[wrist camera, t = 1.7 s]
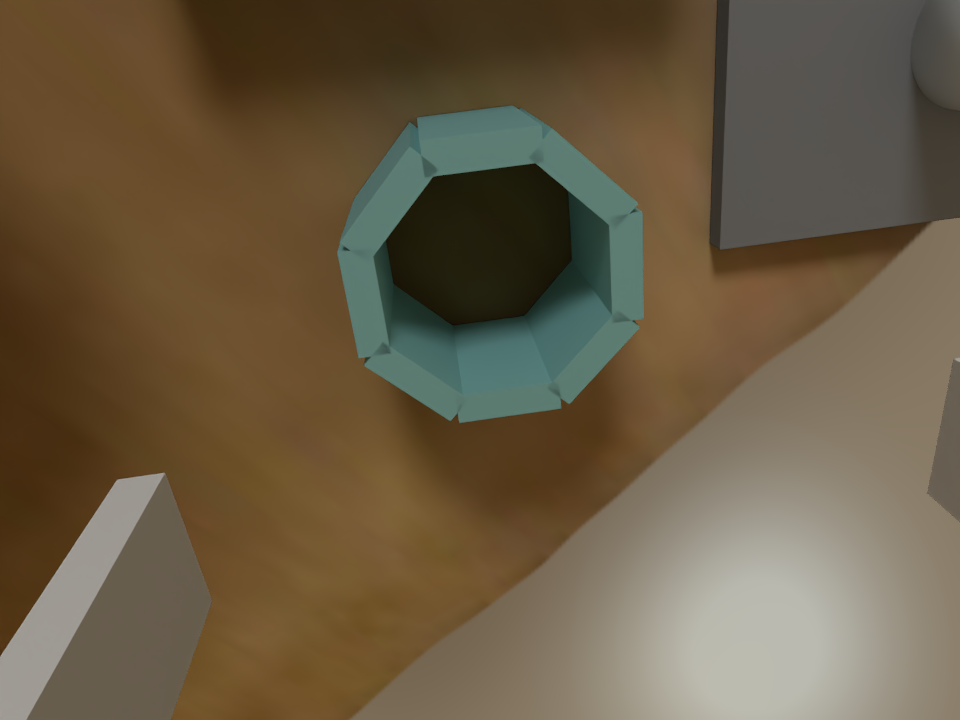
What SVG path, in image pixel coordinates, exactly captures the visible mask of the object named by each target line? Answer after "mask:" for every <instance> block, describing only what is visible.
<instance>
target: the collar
mask: <svg viewBox="0 0 960 720" xmlns="http://www.w3.org/2000/svg"><path fill="white" fill-rule="evenodd" d="M417 123H418V128H417V127H415V126H414V125H413V124H412V123H410V122H409V123H408V125H407V126H406V127H405V129H404V130H403V132H402V133H401V134H400V136H399V137H398V139H397V140H396V141H395V143H394V144H393V146H392V147H391V148H390V150H389V151H388V152H387V154H386V155H385V157H384V158H383V159H382V161H381V162H380V164H379V165H378V166H377V168H376V169H375V171H374V172H373V173H372V175H371V176H370V177H369V179H368V180H367V182H366V183H365V184H364V186H363V187H362V189H361V190H360V191H359V193H358V194H357V196H356V197H355V198H354V201H353V204H352V207H351V210H350V213H349V216H348V219H347V222H346V225H345V228H344V231H343V234H342V237H341V240H340V246H339V249H338V252H337V254H338V259H339V264H340V268H341V273H342V278H343V283H344V288H345V293H346V298H347V303H348V308H349V313H350V318H351V322H352V327H353V332H354V337H355V342H356V347H357V352H358V357H359V358H364V357H365V363H364V366H365V367H367V368H368V369H370V370H371V371H373V372H375V373H376V374H378V375H379V376H381V377H382V378H384V379H385V380H387V381H389V382H390V383H392V384H393V385H395V386H396V387H398V388H400V389H401V390H403V391H404V392H406V393H407V394H409V395H410V396H412V397H414V398H415V399H417V400H418V401H420V402H421V403H423V404H424V405H426V406H428V407H429V408H431V409H432V410H434V411H435V412H437V413H438V414H440V415H442V416H443V417H445V418H446V419H448V420H449V421H451V420H452V419H453V418H454V416H455V415H456V414H457V413H458V418H459V423H463V422H470V421H477V420H484V419H491V418H498V417H505V416H512V415H519V414H526V413H533V412H540V411H547V410H554V409H561V399H563V400H564V401H565V402H567V403H568V404H570V403H571V402H572V401H573V400H574V399H575V398H576V397H577V395H578V394H579V393H580V392H581V391H582V390H583V389H584V388H585V387H586V386H587V385H588V383H589V382H590V381H591V380H592V379H593V378H594V377H595V376H596V375H597V374H598V373H599V372H600V370H601V369H602V368H603V367H604V366H605V365H606V364H607V363H608V362H609V361H610V360H611V359H612V357H613V356H614V355H615V354H616V353H617V352H618V351H619V350H620V349H621V348H622V347H623V345H624V344H625V343H626V342H627V341H628V340H629V339H630V338H631V337H632V336H633V335H634V334H635V332H636V331H637V330H638V329H639V328H640V327H639V326H638V324H637V323H636V322H635V321H634V320H639V319H644V313H643V216H642V212H641V211H640V210H639V209H638V208H636V206H637V204H638V203H637V202H636V201H635V200H634V199H633V198H632V197H631V196H629V195H628V194H627V193H626V192H625V191H624V190H623V189H621V188H620V187H619V186H618V185H617V184H616V183H614V182H613V181H612V180H611V179H610V178H609V177H608V176H606V175H605V174H604V173H603V172H602V171H601V170H599V169H598V168H597V167H596V166H595V165H594V164H593V163H591V162H590V161H589V160H588V159H587V158H586V157H585V156H583V155H582V154H581V153H580V152H579V151H578V150H576V149H575V148H574V147H573V146H572V145H571V144H570V143H568V142H567V141H566V140H565V139H564V138H563V137H561V136H560V135H559V134H558V133H557V132H556V131H555V130H553V129H552V128H551V127H549V126H548V125H546V124H545V123H543V122H542V121H540V120H539V119H537V118H536V117H534V116H533V115H531V114H530V113H528V112H526V111H525V110H523V109H522V108H520V109H517V108H516V107H514V106H513V105H511V106H503V107H495V108H487V109H479V110H471V111H463V112H455V113H447V114H440V115H432V116H424V117H417ZM533 163H536V164H537V165H538V166H539V167H541V168H542V169H543V170H544V171H545V172H547V173H548V174H549V175H550V176H551V177H552V178H554V179H555V180H556V181H557V182H558V183H560V184H561V185H562V186H563V187H564V188H566V189H567V190H568V199H569V217H570V235H571V253H572V261H571V262H570V263H569V264H568V265H567V266H566V268H565V269H564V270H563V271H562V272H561V273H560V275H559V276H558V277H557V278H556V279H555V280H554V282H553V283H552V284H551V285H550V286H549V287H548V289H547V290H546V291H545V292H544V293H543V294H542V296H541V297H540V298H539V299H538V300H537V301H536V303H535V304H534V305H533V306H532V307H531V308H530V310H529V311H528V312H527V313H526V314H525V316H519V317H512V318H504V319H497V320H490V321H483V322H475V323H468V324H461V325H451V324H450V323H448V322H447V321H445V320H444V319H443V318H441V317H440V316H438V315H437V314H435V313H434V312H433V311H431V310H430V309H428V308H427V307H425V306H424V305H423V304H421V303H420V302H418V301H417V300H415V299H414V298H413V297H411V296H410V295H408V294H407V293H405V292H404V291H403V290H401V289H400V288H398V287H397V286H395V285H394V284H393V278H392V273H391V267H390V261H389V255H388V249H387V244H386V239H387V237H388V236H389V235H390V233H391V232H392V231H393V229H394V228H395V227H396V225H397V224H398V223H399V221H400V220H401V219H402V217H403V216H404V215H405V213H406V212H407V211H408V209H409V208H410V207H411V205H412V204H413V203H414V201H415V200H416V199H417V197H418V196H419V195H420V194H421V192H422V191H423V190H424V188H425V187H426V186H427V184H428V183H429V182H430V180H431V179H432V178H433V176H441V175H448V174H456V173H464V172H472V171H479V170H487V169H495V168H502V167H510V166H518V165H526V164H533Z"/></svg>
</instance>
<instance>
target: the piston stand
mask: <svg viewBox="0 0 960 720" xmlns="http://www.w3.org/2000/svg"><path fill="white" fill-rule="evenodd" d="M959 217H960V0H717V31H716V62H715V94H714V125H713V156H712V188H711V219H710V243H711V244H712V245H714V246H715V247H717V248H718V249H719V250H722V249H730V248H737V247H745V246H752V245H759V244H767V243H774V242H782V241H789V240H796V239H804V238H811V237H819V236H826V235H833V234H841V233H848V232H856V231H863V230H870V229H878V228H885V227H893V226H900V225H907V224H915V223H922V222H930V221H937V220H944V219H951V218H959Z"/></svg>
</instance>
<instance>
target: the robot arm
mask: <svg viewBox="0 0 960 720" xmlns="http://www.w3.org/2000/svg"><path fill="white" fill-rule="evenodd" d="M927 493H928V494H929V495H930V496H931V497H932V498H933V499H934V500H935V501H937V502H938V503H939V504H940V505H941V506H942V507H943V508H944V509H946V510H947V511H948V512H949V513H950V514H951V515H952V516H954V517H955V518H956V519H957V520H958V521H959V522H960V358H955V359H954V360H953V365H952V370H951V375H950V380H949V385H948V390H947V395H946V401H945V406H944V411H943V416H942V421H941V426H940V431H939V436H938V441H937V446H936V452H935V457H934V462H933V467H932V472H931V477H930V483H929V487H928V492H927ZM211 603H212V599H211V596H210V594H209V591H208V588H207V585H206V583H205V580H204V577H203V575H202V572H201V569H200V566H199V564H198V561H197V558H196V555H195V553H194V550H193V547H192V545H191V542H190V539H189V536H188V534H187V531H186V528H185V526H184V523H183V520H182V517H181V515H180V512H179V509H178V506H177V504H176V501H175V498H174V496H173V493H172V490H171V487H170V485H169V482H168V479H167V476H166V474H165V473H160V474H153V475H146V476H139V477H132V478H125V479H118V480H117V481H116V482H115V484H114V485H113V487H112V488H111V490H110V491H109V493H108V494H107V496H106V497H105V499H104V500H103V502H102V503H101V505H100V506H99V508H98V509H97V511H96V512H95V514H94V516H93V517H92V519H91V520H90V522H89V523H88V525H87V526H86V528H85V529H84V531H83V532H82V534H81V535H80V537H79V538H78V540H77V541H76V543H75V544H74V546H73V547H72V549H71V550H70V552H69V553H68V555H67V556H66V558H65V559H64V561H63V562H62V564H61V565H60V567H59V568H58V570H57V571H56V573H55V575H54V576H53V578H52V579H51V581H50V582H49V584H48V585H47V587H46V588H45V590H44V591H43V593H42V594H41V596H40V597H39V599H38V600H37V602H36V603H35V605H34V606H33V608H32V609H31V611H30V612H29V614H28V615H27V617H26V618H25V620H24V621H23V623H22V624H21V626H20V627H19V629H18V631H17V632H16V634H15V635H14V637H13V638H12V640H11V641H10V643H9V644H8V646H7V647H6V649H5V650H4V652H3V653H2V655H1V656H0V720H171V718H172V715H173V712H174V709H175V706H176V703H177V700H178V698H179V695H180V692H181V689H182V686H183V683H184V680H185V678H186V675H187V672H188V669H189V666H190V663H191V660H192V658H193V655H194V652H195V649H196V646H197V643H198V641H199V638H200V635H201V632H202V629H203V626H204V623H205V621H206V618H207V615H208V612H209V609H210V606H211Z"/></svg>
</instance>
